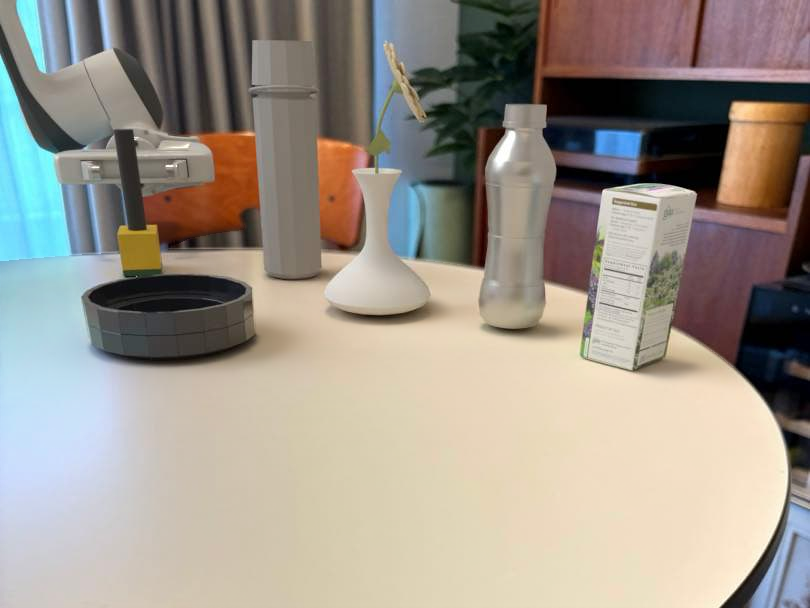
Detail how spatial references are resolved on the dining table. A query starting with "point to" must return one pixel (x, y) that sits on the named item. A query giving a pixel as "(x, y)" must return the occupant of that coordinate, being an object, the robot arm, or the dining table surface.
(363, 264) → the flower in vase
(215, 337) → the bowl
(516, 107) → the plastic bottle
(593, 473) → the dining table surface
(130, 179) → the sponge wand
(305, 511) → the dining table surface
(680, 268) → the syrup box
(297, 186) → the water bottle
